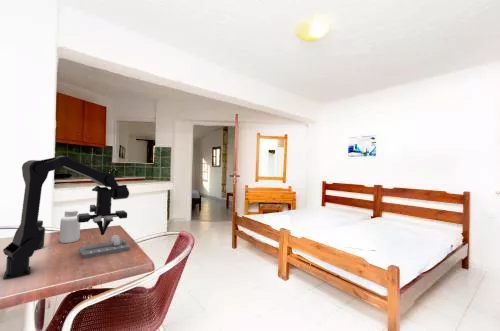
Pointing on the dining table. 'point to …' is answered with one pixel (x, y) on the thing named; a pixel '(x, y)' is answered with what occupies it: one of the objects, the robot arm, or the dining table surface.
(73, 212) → the pill bottle
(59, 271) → the dining table surface
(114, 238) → the fader
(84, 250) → the console
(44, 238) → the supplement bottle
